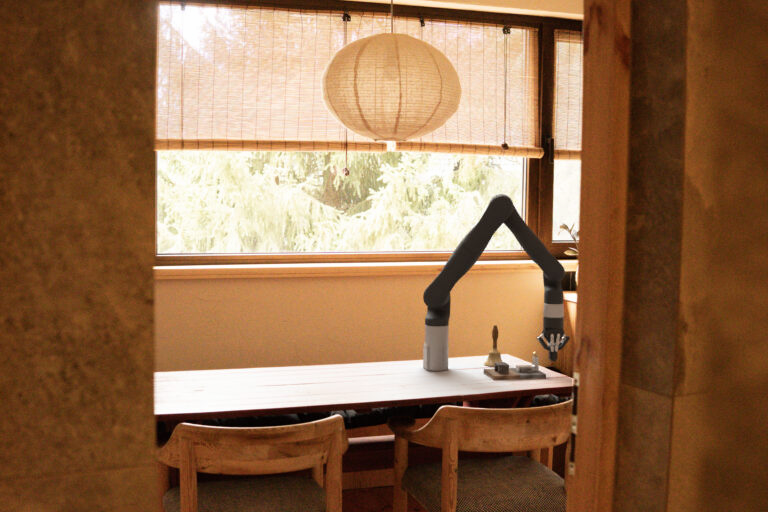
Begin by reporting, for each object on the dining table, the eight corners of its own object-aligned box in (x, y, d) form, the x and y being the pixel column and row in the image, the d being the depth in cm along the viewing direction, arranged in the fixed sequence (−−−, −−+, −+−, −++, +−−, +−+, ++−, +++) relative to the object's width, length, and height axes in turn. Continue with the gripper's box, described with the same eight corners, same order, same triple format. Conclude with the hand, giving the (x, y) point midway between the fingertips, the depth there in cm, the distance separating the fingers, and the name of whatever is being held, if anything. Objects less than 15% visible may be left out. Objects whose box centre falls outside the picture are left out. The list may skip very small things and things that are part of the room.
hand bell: (508, 364, 284) (508, 325, 283) (499, 367, 277) (500, 327, 276) (488, 362, 289) (489, 323, 288) (480, 365, 282) (481, 325, 281)
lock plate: (494, 380, 256) (494, 367, 256) (483, 373, 268) (483, 360, 267) (546, 378, 259) (546, 365, 259) (533, 371, 271) (533, 359, 271)
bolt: (518, 371, 262) (518, 352, 262) (515, 370, 265) (516, 351, 264) (538, 371, 264) (539, 352, 263) (536, 369, 266) (536, 351, 266)
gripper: (540, 317, 260) (540, 363, 261) (574, 316, 262) (573, 362, 263) (532, 314, 267) (532, 359, 268) (565, 313, 270) (565, 358, 270)
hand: (552, 361), depth 266 cm, fingers closed
